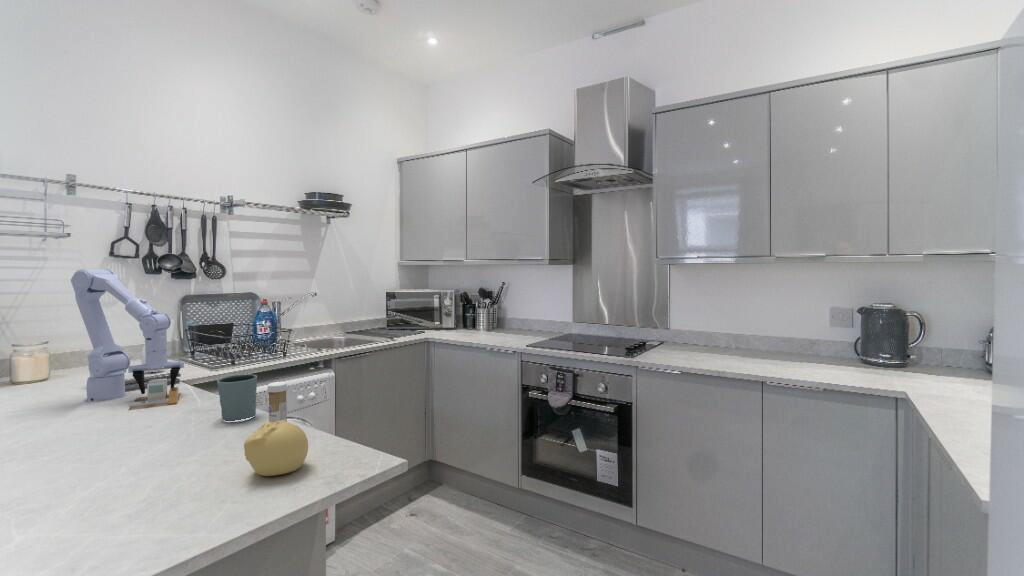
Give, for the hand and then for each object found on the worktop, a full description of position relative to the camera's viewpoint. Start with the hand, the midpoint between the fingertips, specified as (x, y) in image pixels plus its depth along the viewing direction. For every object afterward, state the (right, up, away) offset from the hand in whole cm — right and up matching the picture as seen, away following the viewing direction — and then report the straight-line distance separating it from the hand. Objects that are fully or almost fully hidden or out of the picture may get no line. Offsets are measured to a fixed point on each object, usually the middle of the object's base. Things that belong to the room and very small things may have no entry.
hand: (157, 391), depth 156 cm
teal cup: (+36, -4, -16) cm, 40 cm away
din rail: (+4, -2, -7) cm, 8 cm away
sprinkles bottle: (+54, -5, -29) cm, 61 cm away
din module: (0, -2, 0) cm, 2 cm away
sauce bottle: (-35, -2, +45) cm, 57 cm away
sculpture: (+65, -6, -52) cm, 84 cm away
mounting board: (+2, -4, -3) cm, 5 cm away
